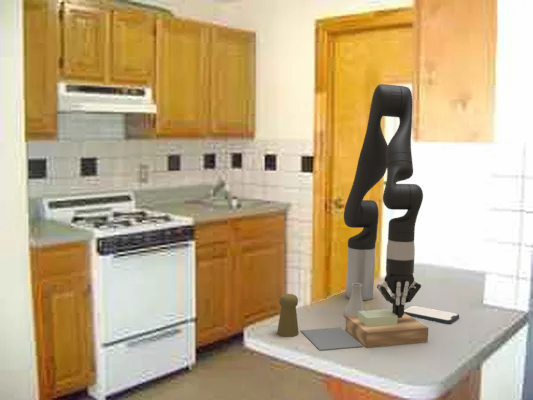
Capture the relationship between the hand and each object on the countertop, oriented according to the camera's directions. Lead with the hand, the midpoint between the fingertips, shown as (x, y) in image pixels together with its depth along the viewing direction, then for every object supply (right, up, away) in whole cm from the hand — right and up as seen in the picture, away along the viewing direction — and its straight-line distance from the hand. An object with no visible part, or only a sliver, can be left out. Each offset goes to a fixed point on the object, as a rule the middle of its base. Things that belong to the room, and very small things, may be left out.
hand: (397, 317), depth 164 cm
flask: (-9, -3, +17) cm, 19 cm away
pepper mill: (-31, -5, 0) cm, 31 cm away
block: (-6, 0, -1) cm, 6 cm away
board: (-3, -5, 0) cm, 6 cm away
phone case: (+14, -4, +18) cm, 23 cm away
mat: (-19, -5, -4) cm, 20 cm away
